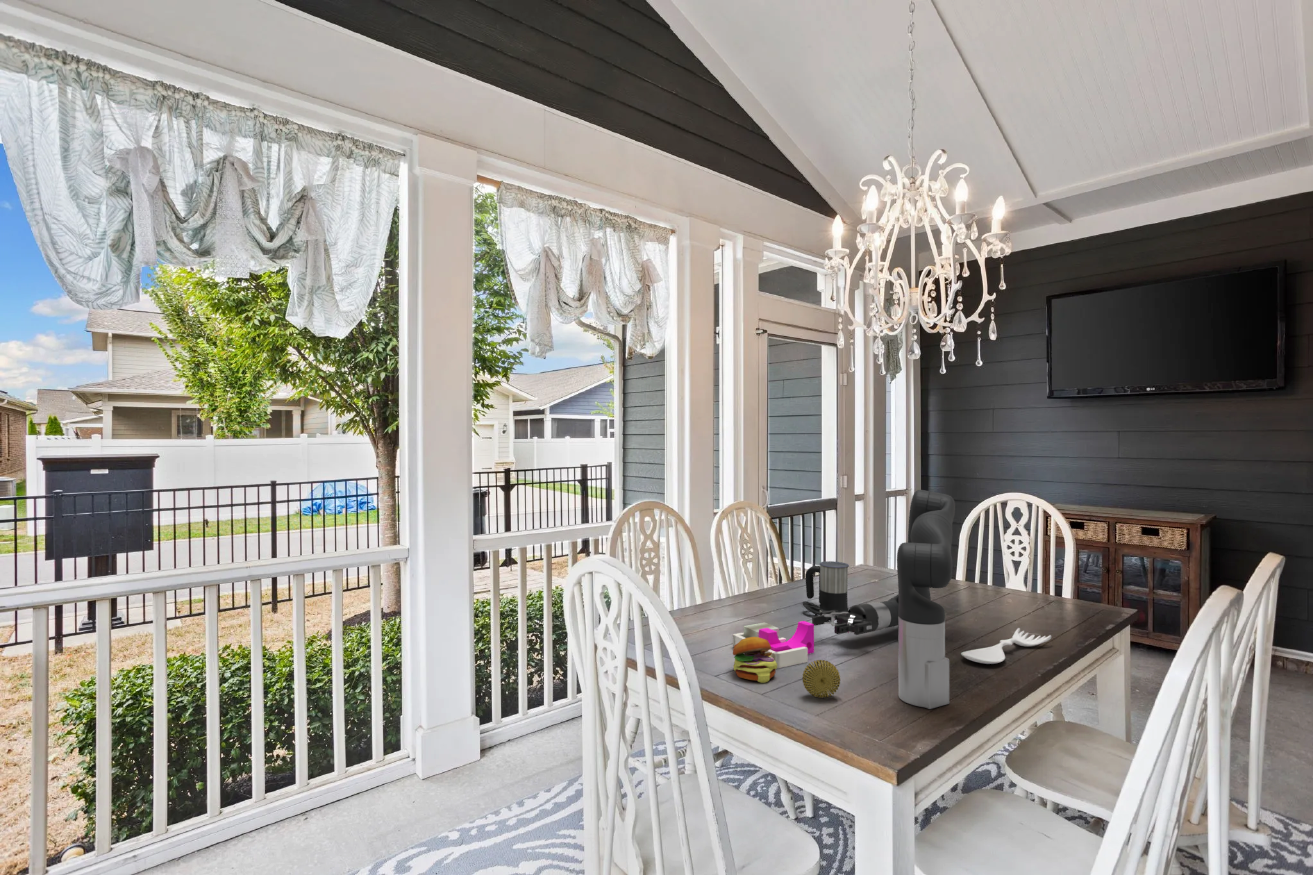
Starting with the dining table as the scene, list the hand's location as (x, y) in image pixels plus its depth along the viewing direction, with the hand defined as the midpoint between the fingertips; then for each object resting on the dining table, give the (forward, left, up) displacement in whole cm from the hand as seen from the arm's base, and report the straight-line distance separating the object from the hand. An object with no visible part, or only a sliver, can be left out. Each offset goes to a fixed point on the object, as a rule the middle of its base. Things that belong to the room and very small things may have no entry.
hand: (823, 625), depth 171 cm
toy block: (0, +11, -7) cm, 13 cm away
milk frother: (+28, -26, -7) cm, 39 cm away
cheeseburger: (-5, +27, -7) cm, 28 cm away
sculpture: (-23, +22, -7) cm, 32 cm away
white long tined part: (-24, -39, -7) cm, 46 cm away
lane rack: (+4, +15, -7) cm, 17 cm away
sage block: (+8, +14, -7) cm, 18 cm away
